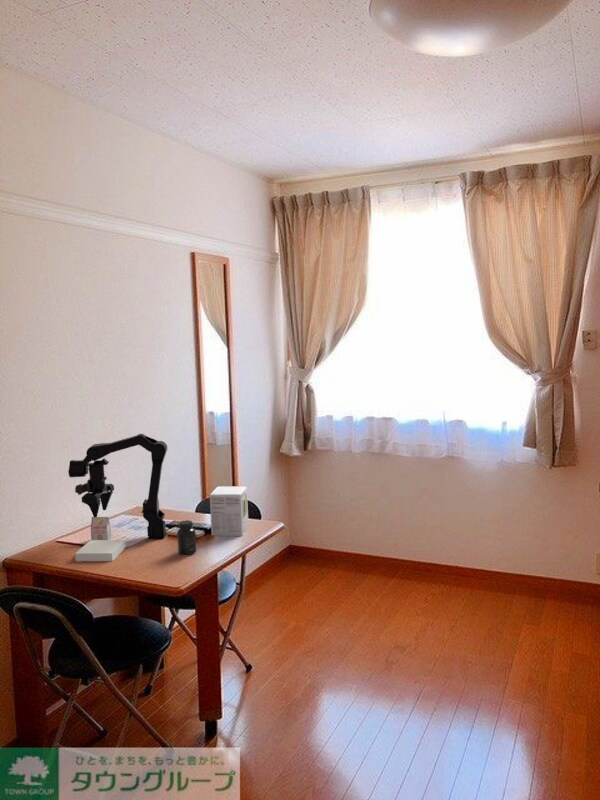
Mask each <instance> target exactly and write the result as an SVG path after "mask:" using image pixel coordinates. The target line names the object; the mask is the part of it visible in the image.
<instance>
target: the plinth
mask: <svg viewBox="0 0 600 800" xmlns="http://www.w3.org/2000/svg"><path fill="white" fill-rule="evenodd" d="M125 547H127V542H126V539H111V540H92V539H91V540H89V541H88V542H87V543H86V544H85V545H83V546H82V547H81V548H80V549H78V550H77V551H76V552H75V553H74V555H75V562H113V561H115V559H116V558H117V557H118V556H119V555H120V554H121V553H122V552H123V551H124V550H125V549H126V548H125ZM124 548H125V549H124Z"/></svg>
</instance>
